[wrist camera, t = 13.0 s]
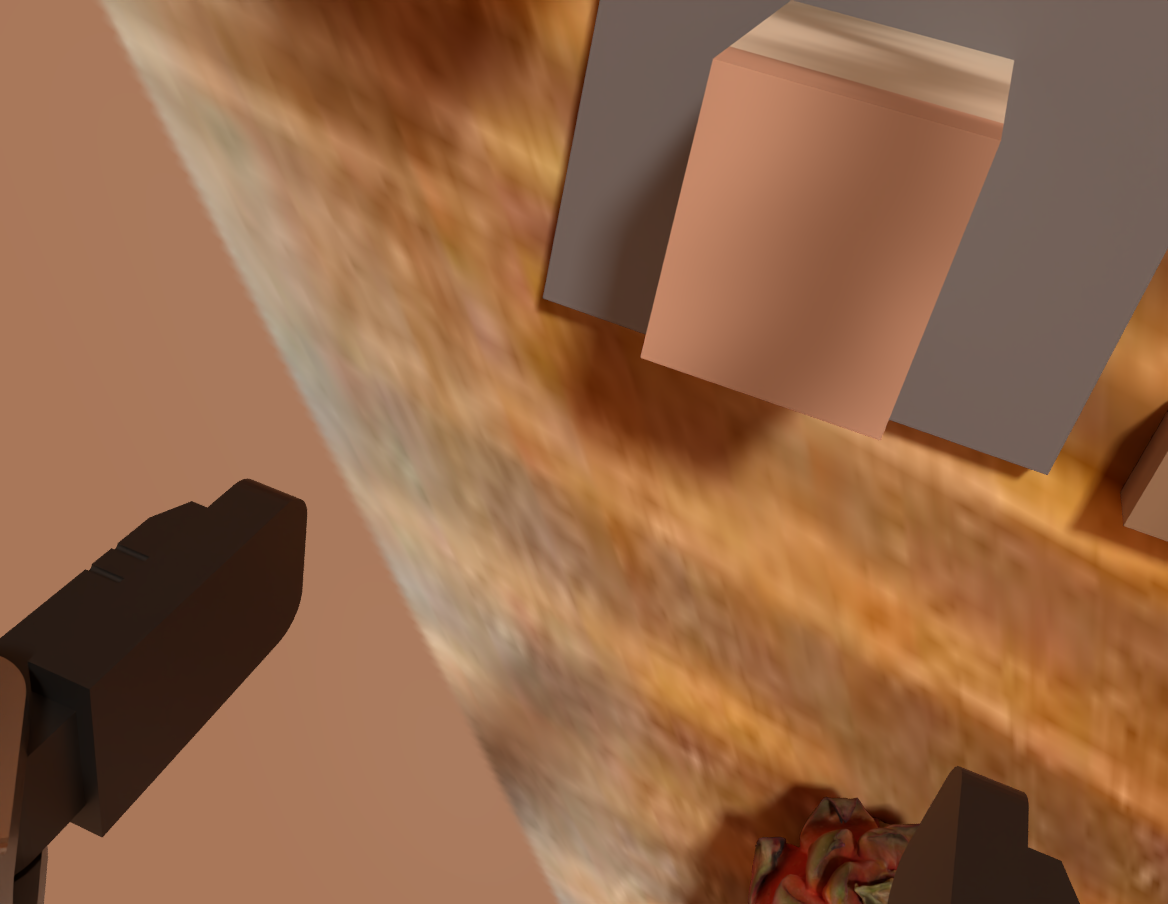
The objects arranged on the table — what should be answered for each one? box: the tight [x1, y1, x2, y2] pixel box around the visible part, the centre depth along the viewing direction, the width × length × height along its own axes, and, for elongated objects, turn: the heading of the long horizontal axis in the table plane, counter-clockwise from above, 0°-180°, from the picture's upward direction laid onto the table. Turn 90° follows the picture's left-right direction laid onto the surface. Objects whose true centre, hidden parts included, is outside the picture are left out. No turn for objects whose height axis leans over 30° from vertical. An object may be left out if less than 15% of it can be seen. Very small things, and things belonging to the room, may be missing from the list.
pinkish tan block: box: [640, 0, 1014, 440], centre depth 23 cm, size 5×8×9 cm, turn 169°
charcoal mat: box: [543, 0, 1168, 475], centre depth 26 cm, size 14×12×1 cm
